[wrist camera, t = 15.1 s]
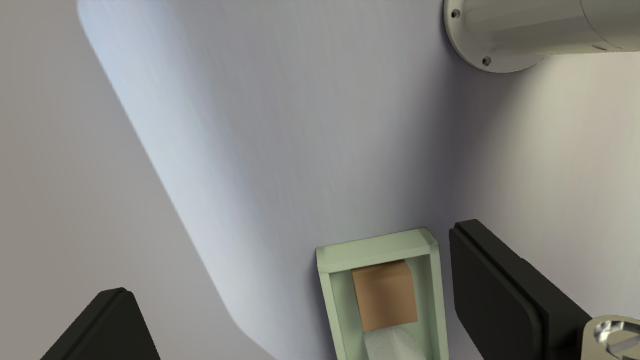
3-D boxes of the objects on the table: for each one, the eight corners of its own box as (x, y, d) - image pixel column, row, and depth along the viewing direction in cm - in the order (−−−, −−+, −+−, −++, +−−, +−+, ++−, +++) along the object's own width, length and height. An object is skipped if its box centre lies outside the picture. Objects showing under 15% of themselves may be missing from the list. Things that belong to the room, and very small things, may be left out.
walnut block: (399, 250, 42) (412, 274, 37) (405, 293, 43) (418, 321, 39) (348, 260, 42) (354, 285, 37) (356, 302, 44) (363, 331, 39)
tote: (425, 227, 42) (438, 243, 38) (439, 360, 48) (451, 386, 44) (315, 248, 42) (317, 266, 38) (343, 378, 48) (347, 405, 44)
